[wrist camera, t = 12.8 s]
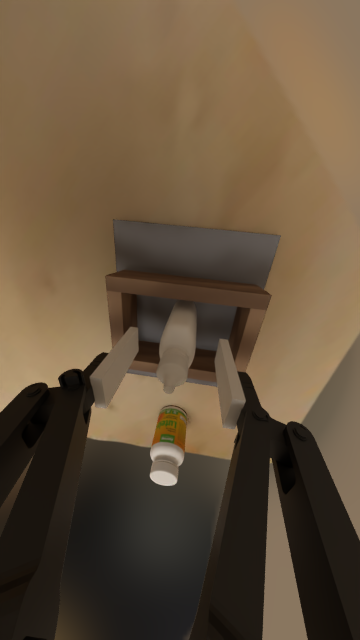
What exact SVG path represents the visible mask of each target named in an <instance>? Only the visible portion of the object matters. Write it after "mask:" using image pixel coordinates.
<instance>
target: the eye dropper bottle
mask: <svg viewBox="0 0 360 640" xmlns="http://www.w3.org/2000/svg"><path fill="white" fill-rule="evenodd" d="M196 328H197V311H196V307H195V304H194V302H193V301H186V300H178V301H177V302H176V303H175V305H174V307H173V310H172V312H171V314H170V317H169V319H168V322H167V324H166V326H165V329H164V331H163V334H162V337H161V340H160V346H159V355H160V362H159V365H158V368H157V371H156V373H157V377H158V379H159V380H160V381H161V382H162V383H163V384H164V392H165V393H168V394H171V393H173V391H174V389H175V387H176V386H180V385H182V384H184V383H185V382H186V380H187V377H188V368H189V367H190V365H191V364H192V362H193V359H194V355H195V349H196Z"/></svg>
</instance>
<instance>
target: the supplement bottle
mask: <svg viewBox="0 0 360 640" xmlns="http://www.w3.org/2000/svg"><path fill="white" fill-rule="evenodd" d="M186 423H187V416H186V413H185V412H184V411H183V410H182V409H180V408H178V407H175V406H168V407H165V408H163V409H162V410H161V411H160V414H159V418H158V422H157V426H156V430H155V434H154V438H153V443H152V447H151V451H150V456H151V459H152V460H153V464H152V467H151V472H150V478H151V480H153V481H154V482H155V483H157V484H160V485H165V486H171V485H174V484H176V482H177V478H178V466H180V465H181V464H182V462H183V459H184V450H185V437H186Z"/></svg>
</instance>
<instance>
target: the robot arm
mask: <svg viewBox="0 0 360 640" xmlns="http://www.w3.org/2000/svg"><path fill="white" fill-rule="evenodd" d="M138 351H139V346H138V328H136V327H130V328H129V329H128V330H127V332H126V333H125V334H124V335H123V337H122V338H121V339H120V340H119V341H118V343H117V344H116V345H115V346H114V348H113V349H112V350H111V351H110V353H104V352H103V353H101V354H99V355H98V356H97V357H96V358H95V359H94V360H93V361H92V362H91V363H90V365H88V367H87V368H86V369H85V370H84V371H82V370H80V369H71V370H68V371H66V372H64V373H63V374H61V375H60V376H59V378H58V380H59V383H60V386H61V387H53V388H48V386H47V384H46V383H42V382H41V383H35V384H32V385H30V386H28V387H26V388H25V389H23V390H22V391H21V392H20V393H19V394H18V395H17V396H16V397H15V398H14V399H13V400H12V401H11V402H10V403H9V404H8V405H7V406H6V407H5V408H4V410H3V411H2V412H1V413H0V507H1V506H2V504H3V503H4V501H5V499H6V498H7V496H8V495H9V493H10V491H11V490H12V488H13V487H14V485H15V484H16V482H17V480H18V479H19V477H20V476H21V474H22V472H23V471H24V469H25V468H26V466H27V464H28V463H29V461H30V460H31V458H32V456H33V455H34V456H33V459H32V461H31V464H30V466H29V469H28V471H27V473H26V476H25V478H24V481H23V483H22V486H21V489H20V491H19V493H18V496H17V498H16V501H15V503H14V506H13V508H12V510H11V513H10V515H9V518H8V520H7V523H6V525H5V528H4V530H3V533H2V535H1V537H0V640H54V638H55V633H56V627H57V621H58V614H59V605H60V582H61V576H62V570H63V565H64V559H65V553H66V548H67V542H68V537H69V532H70V525H71V521H72V515H73V510H74V504H75V499H76V493H77V488H78V482H79V477H80V471H81V466H82V460H83V455H84V449H85V444H86V438H87V433H88V427H89V422H90V416H91V406H92V404H93V403H94V401H95V406H96V407H100V408H107V407H108V405H109V403H110V401H111V399H112V398H113V396H114V394H115V392H116V391H117V389H118V387H119V385H120V383H121V382H122V380H123V378H124V376H125V374H126V373H127V371H128V369H129V367H130V365H131V364H132V362H133V360H134V358H135V356H136V355H137V353H138ZM214 362H215V370H216V378H217V386H218V393H219V401H220V409H221V417H222V424H223V428H229V429H235V427H236V425H237V428H238V433H237V436H236V438H235V441H234V443H235V445H234V450H233V454H232V458H231V463H230V467H229V472H228V477H227V481H226V485H225V490H224V494H223V499H222V503H221V507H220V512H219V517H218V521H217V525H216V530H215V534H214V539H213V543H212V547H211V552H210V557H209V561H208V565H207V570H206V574H205V578H204V583H203V587H202V592H201V596H200V601H199V605H198V610H197V614H196V617H195V621H194V624H193V628H192V631H191V634H190V638H189V640H262V631H263V606H264V583H265V559H266V534H267V511H268V487H269V463H270V458H272V462H273V467H274V472H275V477H276V483H277V487H278V492H279V497H280V503H281V508H282V512H283V517H284V523H285V527H286V532H287V538H288V542H289V548H290V552H291V558H292V562H293V568H294V573H295V578H296V583H297V588H298V592H299V598H300V603H301V608H302V613H303V617H304V623H305V628H306V632H307V638H308V640H360V540H359V538H358V536H357V534H356V531H355V529H354V527H353V525H352V522H351V520H350V518H349V515H348V513H347V511H346V509H345V507H344V504H343V502H342V500H341V497H340V495H339V493H338V491H337V488H336V486H335V484H334V482H333V479H332V477H331V475H330V472H329V470H328V468H327V466H326V463H325V461H324V459H323V457H322V454H321V452H320V450H319V448H318V446H317V443H316V441H315V439H314V437H313V435H312V434H311V432H310V431H309V430H308V429H307V428H306V427H304V426H303V425H302V424H300V423H297V422H293V421H291V422H288V424H287V425H285V424H283V423H281V422H279V421H276V420H274V419H272V418H271V417H270V416H269V414H268V413H267V412H266V411H265V410H264V409H263V408H262V407H261V404H260V402H259V399H258V396H257V394H256V391H255V389H254V386H253V383H252V381H251V378H250V377H249V376H248V374H247V373H246V372H240V371H237V369H236V366H235V362H234V359H233V356H232V352H231V349H230V345H229V342H228V340H226V339H219V344H218V348H217V352H216V357H215V361H214ZM34 453H35V454H34Z"/></svg>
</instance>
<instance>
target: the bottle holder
mask: <svg viewBox="0 0 360 640" xmlns="http://www.w3.org/2000/svg"><path fill="white" fill-rule="evenodd" d="M113 225H114V240H115V254H116V268H117V272H115V273H112V274H109V275H106V276H105V277H106V287H107V298H108V308H109V318H110V328H111V338H112V348H114V346H115V345H116V344H117V343H118V341H119V340H120V339H121V338H122V337H123V335H124V334H125V333H126V332H127V330H128V329H129V328H130V327H136V328H138V346H139V351H138V353H137V355H136V356H135V358H134V360H133V362H132V364H131V365H130V367H129V369H128V371H127V373H131V374H137V375H144V376H151V377H157V373H156V371H157V368H158V365H159V362H160V355H159V346H160V340H161V337H162V334H163V331H164V329H165V326H166V324H167V322H168V319H169V317H170V314H171V312H172V310H173V307H174V305H175V303H176V302H177V301H178V300H186V301H193V302H194V304H195V307H196V311H197V328H196V349H195V355H194V359H193V362H192V364H191V365H190V367H189V368H188V377H187V380H186V382H190V383H196V384H203V385H209V386H216V387H218V386H217V378H216V370H215V362H214V361H215V357H216V352H217V348H218V344H219V339H226V340H228V342H229V345H230V349H231V352H232V356H233V359H234V362H235V366H236V369H237V371H240V372H246V369H247V366H248V363H249V360H250V357H251V354H252V351H253V349H254V346H255V343H256V340H257V337H258V334H259V331H260V328H261V325H262V322H263V319H264V316H265V313H266V311H267V308H268V305H269V302H270V299H271V296H272V295H270V294H269V293H267V292H266V291H265V290H264V288H265V284H266V281H267V278H268V275H269V272H270V269H271V265H272V262H273V259H274V256H275V253H276V250H277V247H278V243H279V240H280V237H281V236H280V235H270V234H259V233H249V232H239V231H228V230H218V229H208V228H197V227H187V226H176V225H166V224H156V223H145V222H135V221H125V220H114V219H113ZM157 378H158V377H157Z"/></svg>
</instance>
